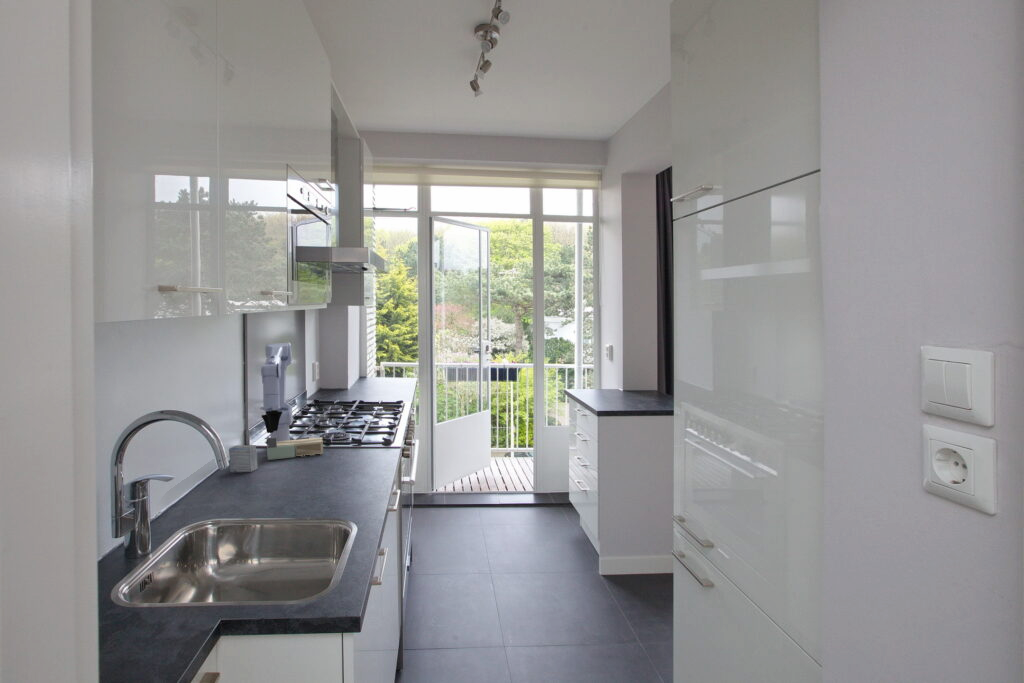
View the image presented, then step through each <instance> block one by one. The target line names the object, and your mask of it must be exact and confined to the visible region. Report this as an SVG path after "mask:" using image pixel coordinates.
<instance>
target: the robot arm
mask: <svg viewBox="0 0 1024 683" xmlns="http://www.w3.org/2000/svg"><path fill="white" fill-rule="evenodd" d="M264 348H265V356H266V360H265V362H264V364H263V365H262V366H261V367H260V375H261V383H262V387H263V388H262V391H263V393H262V394H263V395H262V396H263V397H262V398H263V406H262V407H261V406H260V408H259V410H261V411H264V412H265V414H262V415H261V418H262V420H263V422H264V426H265V430H266V434H270V438H275V437H276V441H277V442H278V441H288V440H291V436H290V435H291V434H290V426H291V425H292V424H293V420H294V419H293V408H292V405H290V404H289V403H287V402H286V382H287V380H286V378H287V377H286V375H287V373H286V372H287V368H288V366H290V365H291V364H292V360H293V359H292V356H293V355H292V354H293V349H292V344H291V342H283V343H282V342H281V343H280V342H279V343H266V344H265V347H264Z"/></svg>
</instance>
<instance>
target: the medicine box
mask: <svg viewBox="0 0 1024 683" xmlns="http://www.w3.org/2000/svg"><path fill="white" fill-rule="evenodd" d="M228 455H229V456H228V457H229V470H230V473H253V472H255V471H257V470H258V467H259V466H258V457H257V456H258V455H257V446H256V445H252V444H251V445H250V444H249V445H245V444H243V445H233V446H232V447H231V446H230V448H228ZM254 470H255V471H254ZM235 471H236V472H235ZM252 471H253V472H252Z"/></svg>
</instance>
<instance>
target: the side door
mask: <svg viewBox="0 0 1024 683" xmlns="http://www.w3.org/2000/svg"><path fill="white" fill-rule="evenodd" d="M267 445H268V448H267V447H266V452H268V457H267V460H268V461H271V460H279V459H280V460H282V459H292V458H297V457H296V446H295V445H289V446H279V447H277V441H276V437H275V438H271V437H268V438H267Z"/></svg>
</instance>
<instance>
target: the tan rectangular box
mask: <svg viewBox="0 0 1024 683" xmlns="http://www.w3.org/2000/svg"><path fill="white" fill-rule="evenodd" d="M323 441H324V440H323V437H310V438H300V439H299V438H298V439H290V440H288V441H278V442H277V447H279V446H289V445H295V446H296V456H301V457H306V456H305V455H310V456H316V455H315V454H320V455H324V443H323ZM267 448H268V444H267V445H266V449H267ZM266 452H267V451H266ZM266 454H267V455H266V456H267V458H268V452H267V453H266ZM303 455H304V456H303Z"/></svg>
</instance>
